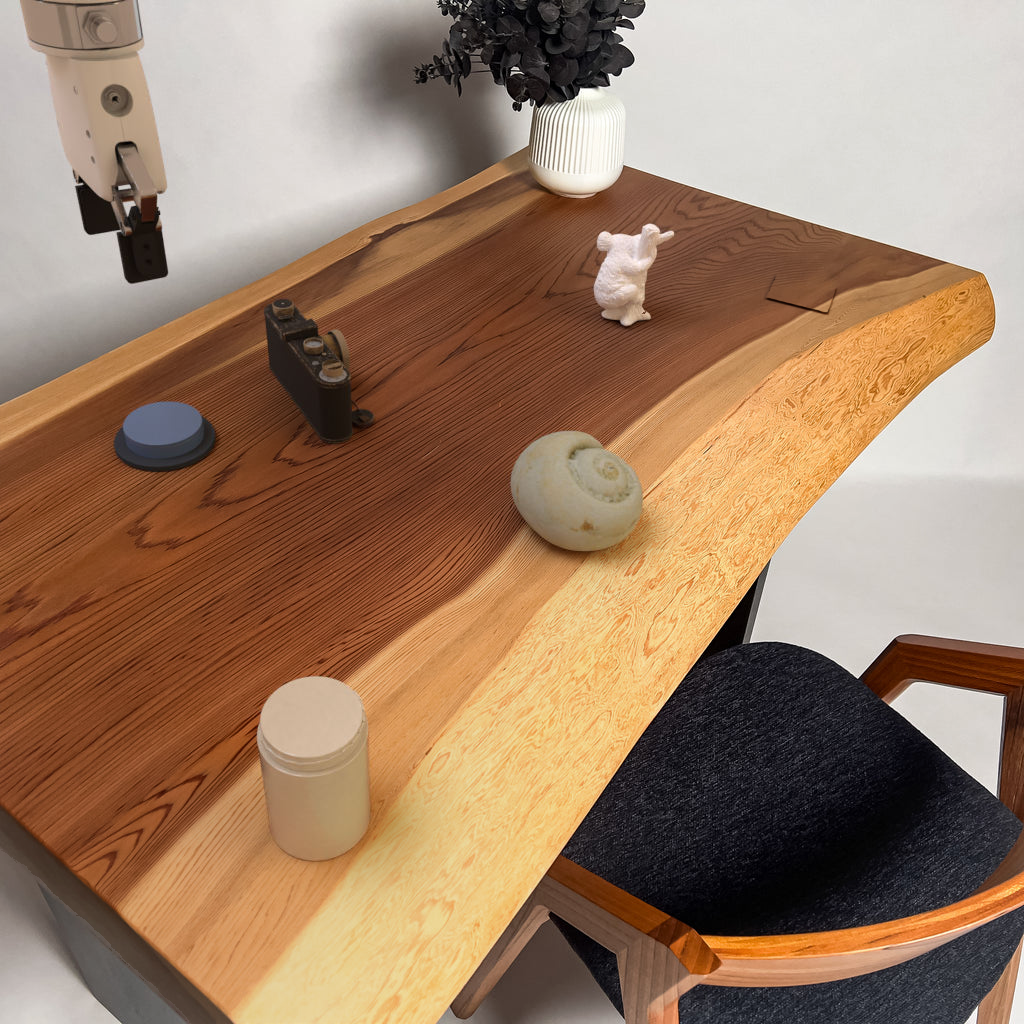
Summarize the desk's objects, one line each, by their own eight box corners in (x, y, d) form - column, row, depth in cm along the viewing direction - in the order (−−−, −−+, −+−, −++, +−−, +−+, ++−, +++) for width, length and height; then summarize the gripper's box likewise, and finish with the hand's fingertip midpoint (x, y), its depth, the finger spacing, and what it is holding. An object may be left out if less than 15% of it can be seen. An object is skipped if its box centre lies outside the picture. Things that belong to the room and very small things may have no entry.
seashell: (670, 461, 82) (596, 496, 75) (654, 539, 86) (582, 579, 79) (558, 407, 89) (482, 435, 82) (548, 482, 93) (474, 514, 86)
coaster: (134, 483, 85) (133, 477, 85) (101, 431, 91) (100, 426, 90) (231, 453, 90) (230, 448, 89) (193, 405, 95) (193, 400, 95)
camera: (385, 431, 94) (384, 361, 89) (321, 448, 91) (317, 376, 86) (319, 350, 105) (316, 283, 99) (260, 363, 102) (253, 295, 96)
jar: (297, 880, 58) (285, 781, 52) (252, 802, 62) (235, 700, 56) (388, 828, 62) (388, 729, 55) (341, 757, 65) (335, 656, 59)
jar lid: (200, 410, 93) (198, 396, 92) (209, 452, 89) (207, 438, 88) (123, 420, 91) (120, 406, 90) (128, 464, 86) (125, 450, 85)
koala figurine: (662, 313, 117) (680, 219, 110) (649, 338, 112) (667, 242, 105) (595, 297, 119) (609, 203, 111) (580, 321, 114) (593, 225, 106)
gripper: (184, 50, 63) (213, 289, 74) (98, -10, 73) (134, 207, 84) (65, 60, 59) (114, 310, 70) (-8, -5, 70) (45, 222, 80)
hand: (125, 254), depth 77 cm, fingers open, 9 cm apart
